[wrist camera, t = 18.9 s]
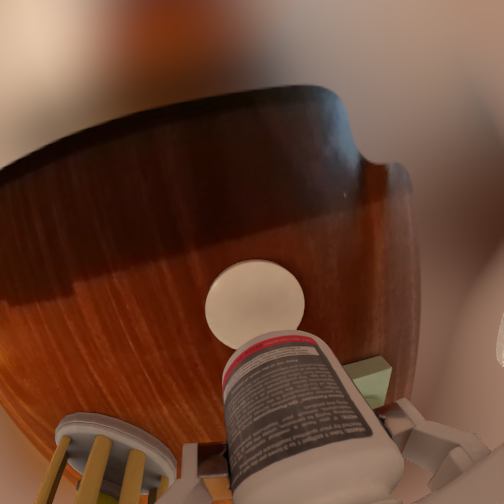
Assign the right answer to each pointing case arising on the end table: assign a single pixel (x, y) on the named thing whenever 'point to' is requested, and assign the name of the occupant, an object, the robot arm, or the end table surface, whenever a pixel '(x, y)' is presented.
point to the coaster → (253, 302)
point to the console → (371, 379)
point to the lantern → (108, 461)
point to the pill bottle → (303, 427)
